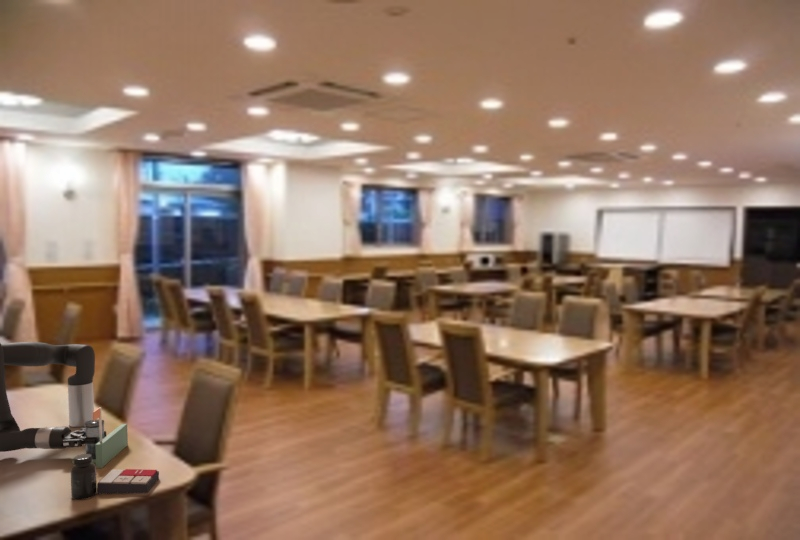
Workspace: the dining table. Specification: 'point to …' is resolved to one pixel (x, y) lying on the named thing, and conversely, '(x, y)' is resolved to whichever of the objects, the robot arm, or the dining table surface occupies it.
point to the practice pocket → (108, 442)
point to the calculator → (127, 481)
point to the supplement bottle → (83, 477)
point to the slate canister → (93, 435)
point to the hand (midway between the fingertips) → (101, 437)
